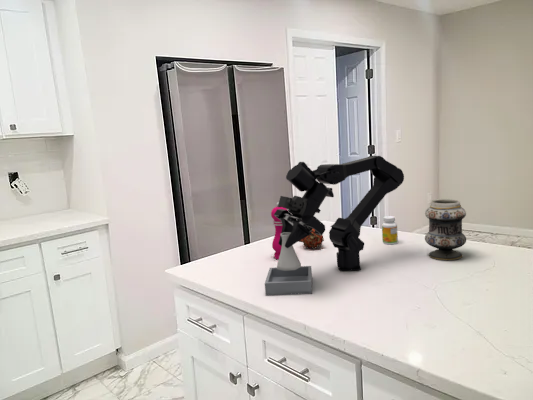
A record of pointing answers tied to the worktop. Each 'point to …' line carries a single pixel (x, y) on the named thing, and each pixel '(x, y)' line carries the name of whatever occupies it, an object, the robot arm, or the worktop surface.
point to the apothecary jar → (445, 228)
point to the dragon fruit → (312, 240)
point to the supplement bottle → (389, 230)
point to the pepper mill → (277, 232)
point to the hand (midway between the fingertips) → (282, 246)
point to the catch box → (289, 281)
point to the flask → (287, 256)
